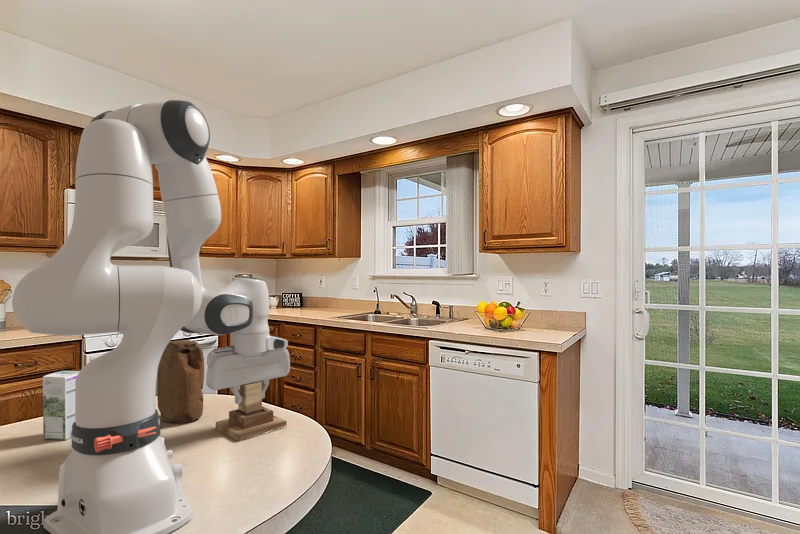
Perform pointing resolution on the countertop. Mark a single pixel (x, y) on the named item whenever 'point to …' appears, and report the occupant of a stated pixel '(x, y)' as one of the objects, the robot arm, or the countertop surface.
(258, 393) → the peg
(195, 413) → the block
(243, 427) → the brown wooden socket base
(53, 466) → the countertop surface
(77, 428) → the robot arm
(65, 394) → the syrup box
